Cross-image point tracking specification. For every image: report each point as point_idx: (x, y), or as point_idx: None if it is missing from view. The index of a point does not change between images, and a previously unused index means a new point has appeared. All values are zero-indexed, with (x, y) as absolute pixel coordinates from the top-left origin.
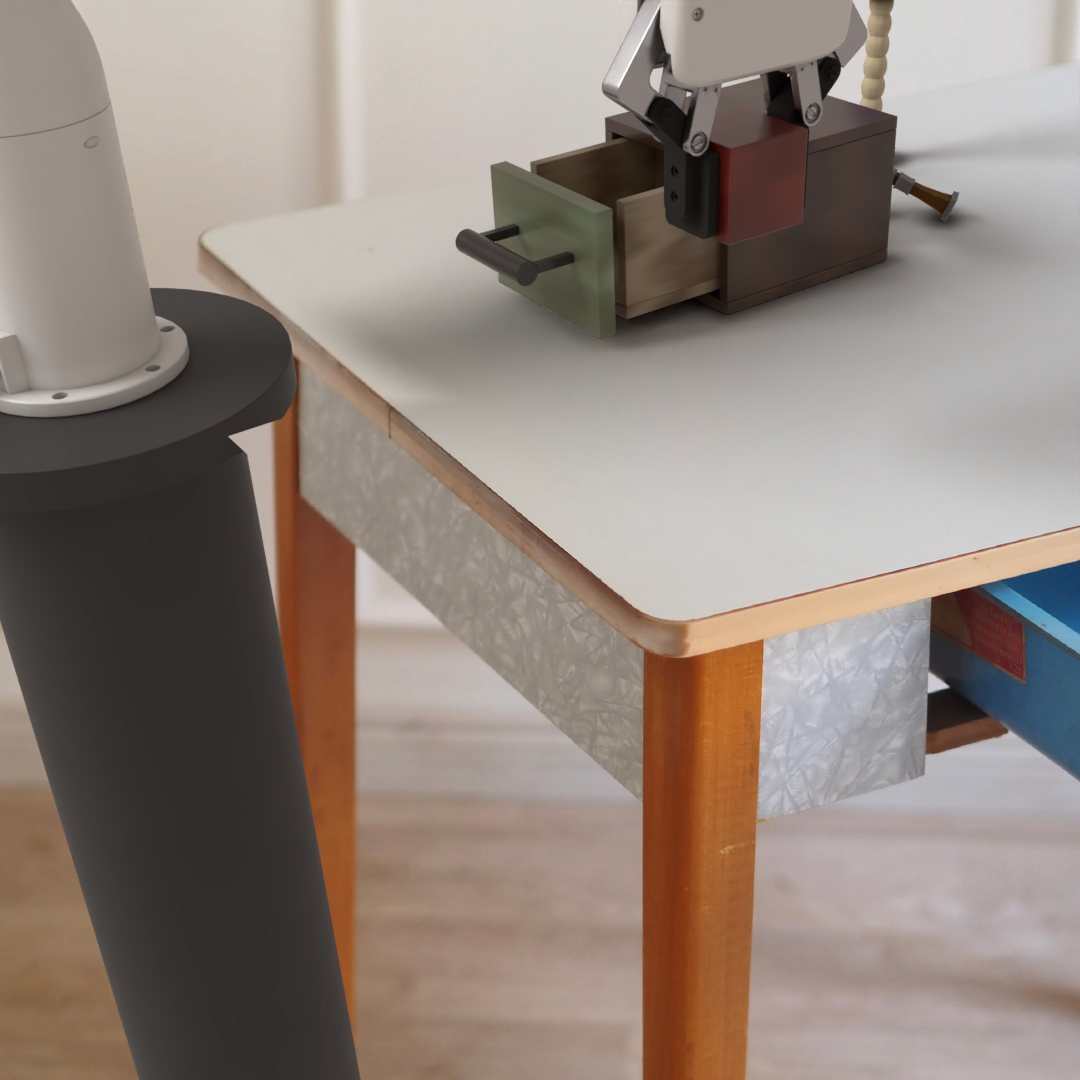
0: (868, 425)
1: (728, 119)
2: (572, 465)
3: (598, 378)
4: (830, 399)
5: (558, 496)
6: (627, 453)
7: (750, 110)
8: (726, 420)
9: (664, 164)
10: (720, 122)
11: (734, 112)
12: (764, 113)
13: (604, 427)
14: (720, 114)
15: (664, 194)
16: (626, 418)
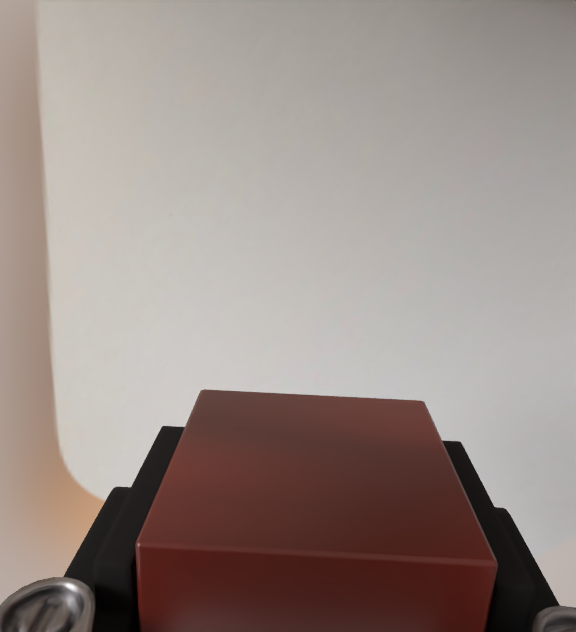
0: (488, 360)
1: (339, 626)
2: (152, 198)
3: (329, 4)
4: (513, 284)
5: (99, 247)
6: (223, 220)
7: (472, 610)
8: (374, 237)
9: (70, 565)
10: (296, 628)
11: (417, 587)
12: (535, 592)
13: (242, 143)
14: (361, 573)
15: (105, 504)
16: (280, 142)
